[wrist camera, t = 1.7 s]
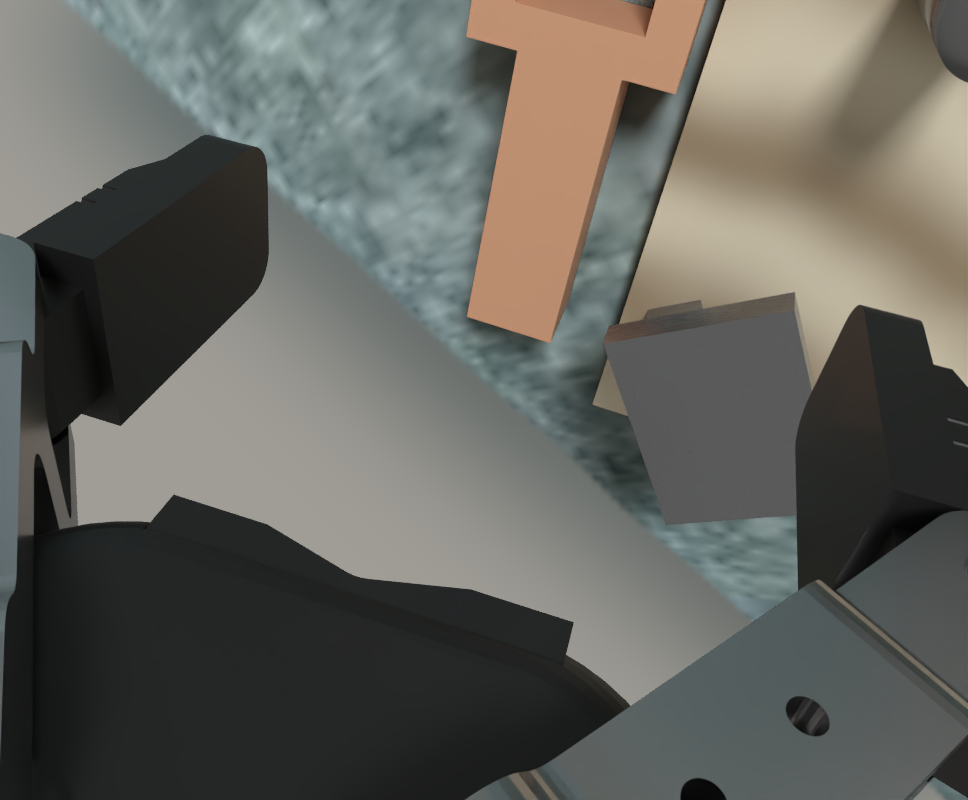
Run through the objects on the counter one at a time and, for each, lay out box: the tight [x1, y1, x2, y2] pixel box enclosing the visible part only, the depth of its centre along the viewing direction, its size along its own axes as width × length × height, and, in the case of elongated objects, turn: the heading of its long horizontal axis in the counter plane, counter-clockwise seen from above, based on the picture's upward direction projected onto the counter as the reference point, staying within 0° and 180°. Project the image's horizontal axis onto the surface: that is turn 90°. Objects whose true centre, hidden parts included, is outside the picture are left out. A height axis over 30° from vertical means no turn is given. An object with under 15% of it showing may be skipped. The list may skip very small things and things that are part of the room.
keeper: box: [603, 292, 815, 525], centre depth 27 cm, size 5×7×5 cm
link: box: [466, 0, 707, 343], centre depth 26 cm, size 15×6×3 cm, turn 170°
